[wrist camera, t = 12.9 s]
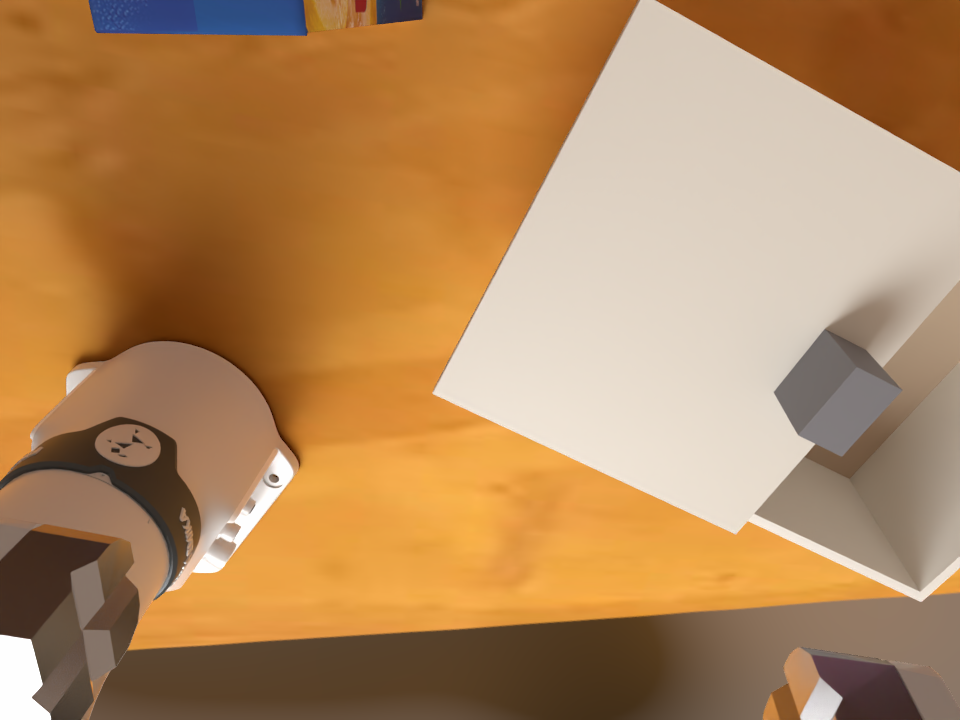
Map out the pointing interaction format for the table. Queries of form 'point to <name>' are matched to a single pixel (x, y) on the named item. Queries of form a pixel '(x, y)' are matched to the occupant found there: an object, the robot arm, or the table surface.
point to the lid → (708, 276)
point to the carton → (889, 474)
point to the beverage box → (246, 15)
